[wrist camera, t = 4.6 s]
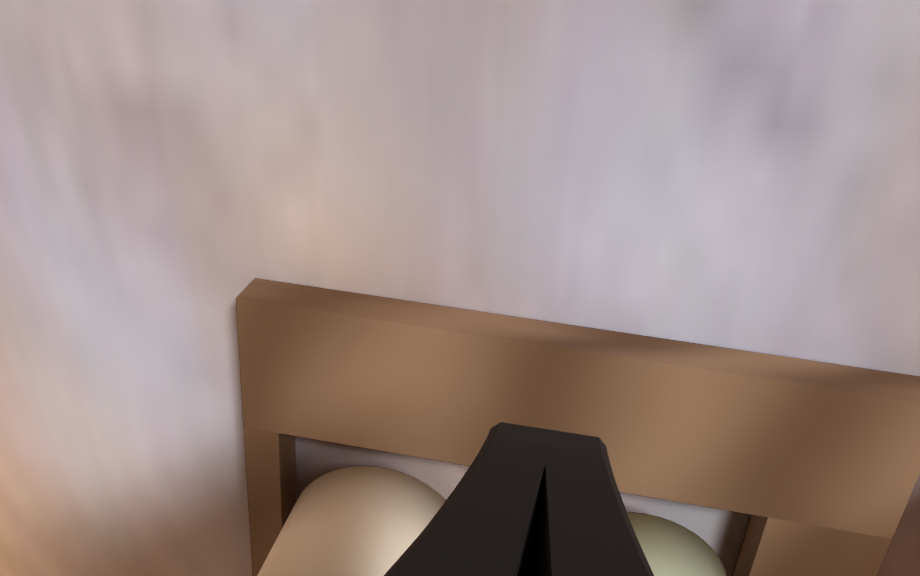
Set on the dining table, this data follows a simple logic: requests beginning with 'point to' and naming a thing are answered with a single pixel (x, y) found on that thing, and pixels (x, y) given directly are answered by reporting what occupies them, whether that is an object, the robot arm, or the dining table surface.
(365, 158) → the dining table surface
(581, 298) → the dining table surface
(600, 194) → the dining table surface
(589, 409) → the brown compartment tray
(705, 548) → the sage puck
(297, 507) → the cream puck
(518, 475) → the robot arm
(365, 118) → the dining table surface
